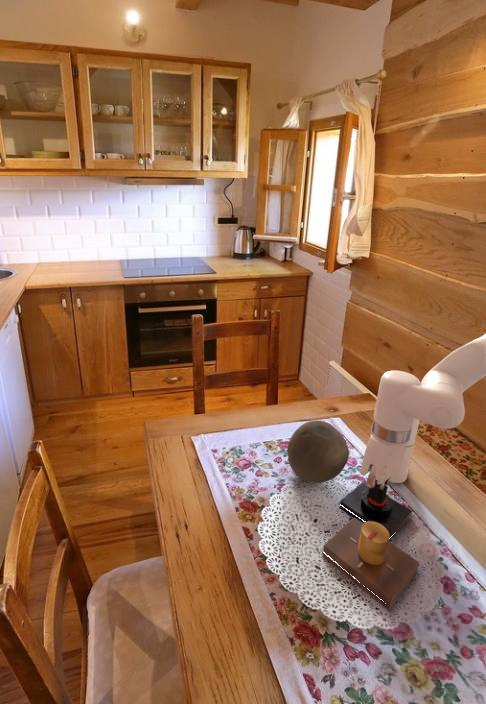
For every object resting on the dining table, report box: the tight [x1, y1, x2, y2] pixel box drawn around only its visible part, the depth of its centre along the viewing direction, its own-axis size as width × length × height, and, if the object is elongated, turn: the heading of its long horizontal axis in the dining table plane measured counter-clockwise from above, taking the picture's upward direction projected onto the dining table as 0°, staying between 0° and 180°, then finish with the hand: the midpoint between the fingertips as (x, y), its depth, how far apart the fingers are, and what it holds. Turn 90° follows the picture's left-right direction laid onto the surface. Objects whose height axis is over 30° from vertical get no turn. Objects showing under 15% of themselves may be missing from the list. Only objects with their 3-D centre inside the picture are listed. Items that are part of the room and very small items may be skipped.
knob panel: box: [321, 518, 420, 611], centre depth 79 cm, size 14×11×3 cm
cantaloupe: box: [286, 419, 350, 484], centre depth 100 cm, size 14×14×15 cm
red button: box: [368, 497, 386, 507], centre depth 91 cm, size 4×4×2 cm
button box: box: [338, 481, 413, 542], centre depth 91 cm, size 12×10×4 cm
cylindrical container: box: [389, 418, 421, 484], centre depth 101 cm, size 7×7×25 cm
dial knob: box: [357, 521, 390, 565], centre depth 78 cm, size 5×5×6 cm
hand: (376, 498), depth 91 cm, fingers closed
